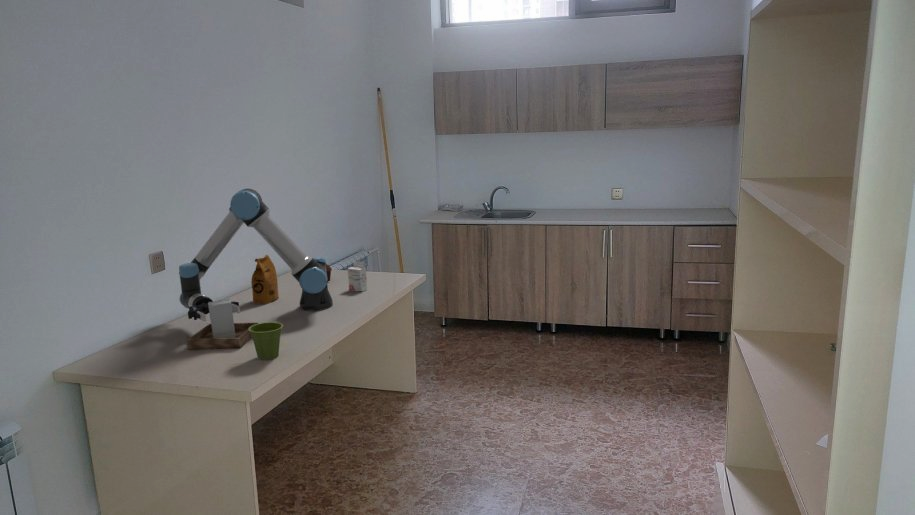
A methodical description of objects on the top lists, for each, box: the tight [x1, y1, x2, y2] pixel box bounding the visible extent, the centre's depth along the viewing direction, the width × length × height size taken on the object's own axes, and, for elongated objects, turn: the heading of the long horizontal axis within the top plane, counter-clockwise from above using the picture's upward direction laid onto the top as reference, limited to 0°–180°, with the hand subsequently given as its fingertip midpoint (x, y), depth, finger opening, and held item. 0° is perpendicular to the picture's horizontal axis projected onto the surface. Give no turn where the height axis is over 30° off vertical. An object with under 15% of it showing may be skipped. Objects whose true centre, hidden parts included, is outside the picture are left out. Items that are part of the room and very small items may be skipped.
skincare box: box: [208, 298, 236, 338], centre depth 237 cm, size 8×6×15 cm
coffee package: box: [251, 254, 279, 305], centre depth 294 cm, size 10×12×22 cm
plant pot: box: [248, 321, 284, 361], centre depth 218 cm, size 12×12×11 cm
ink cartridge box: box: [347, 260, 368, 292], centre depth 310 cm, size 9×5×15 cm, turn 58°
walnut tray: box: [186, 322, 259, 351], centre depth 238 cm, size 20×20×4 cm
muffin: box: [326, 263, 332, 283], centre depth 332 cm, size 12×11×10 cm
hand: (222, 313), depth 236 cm, fingers open, 13 cm apart
